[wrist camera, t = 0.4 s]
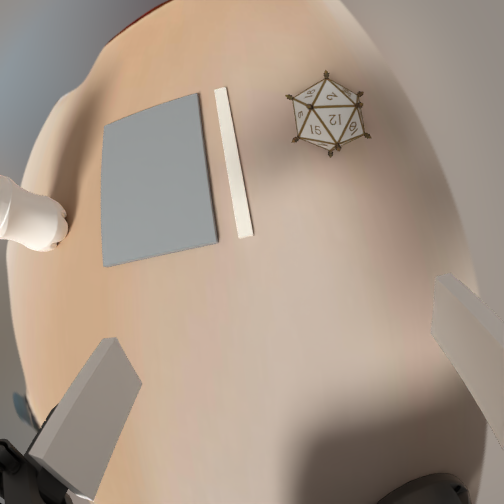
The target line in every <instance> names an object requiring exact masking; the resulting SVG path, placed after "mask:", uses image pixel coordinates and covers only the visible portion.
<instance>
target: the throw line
mask: <svg viewBox="0 0 504 504" xmlns="http://www.w3.org/2000/svg"><path fill="white" fill-rule="evenodd" d="M214 91H215V98H216V104H217V110H218V117H219V123H220V129H221V136H222V142H223V148H224V154H225V160H226V166H227V172H228V178H229V184H230V190H231V196H232V202H233V208H234V214H235V220H236V226H237V232H238V238H239V239H240V238H245V237H250V236H254V235H253V229H252V224H251V219H250V213H249V208H248V202H247V197H246V191H245V186H244V181H243V175H242V170H241V165H240V159H239V154H238V148H237V143H236V138H235V132H234V127H233V122H232V116H231V111H230V106H229V101H228V95H227V90H226V87H223V88H219V89H216V90H214Z"/></svg>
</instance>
